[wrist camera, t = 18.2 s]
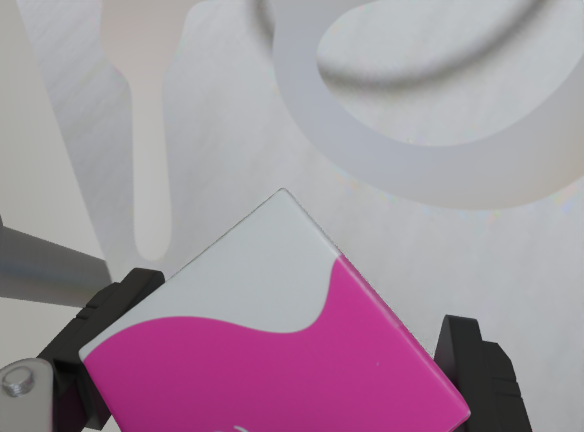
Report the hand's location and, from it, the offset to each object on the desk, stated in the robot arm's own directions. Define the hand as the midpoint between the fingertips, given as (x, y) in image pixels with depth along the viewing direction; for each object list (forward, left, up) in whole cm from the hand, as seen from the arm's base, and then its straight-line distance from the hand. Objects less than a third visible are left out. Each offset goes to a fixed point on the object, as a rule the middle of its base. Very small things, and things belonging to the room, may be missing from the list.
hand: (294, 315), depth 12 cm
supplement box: (-1, -1, -8) cm, 8 cm away
